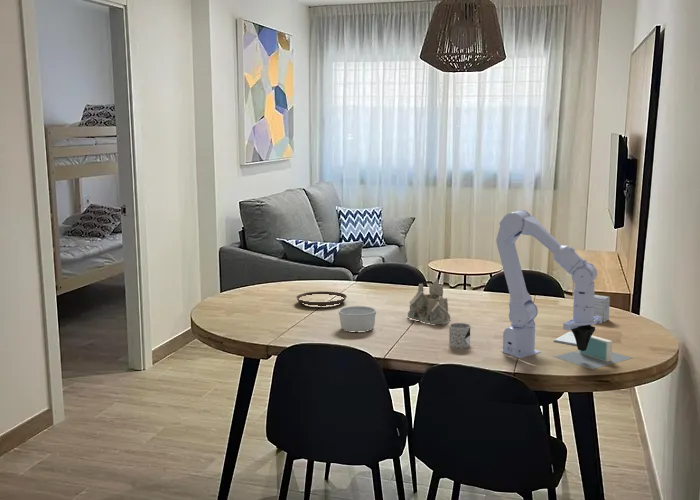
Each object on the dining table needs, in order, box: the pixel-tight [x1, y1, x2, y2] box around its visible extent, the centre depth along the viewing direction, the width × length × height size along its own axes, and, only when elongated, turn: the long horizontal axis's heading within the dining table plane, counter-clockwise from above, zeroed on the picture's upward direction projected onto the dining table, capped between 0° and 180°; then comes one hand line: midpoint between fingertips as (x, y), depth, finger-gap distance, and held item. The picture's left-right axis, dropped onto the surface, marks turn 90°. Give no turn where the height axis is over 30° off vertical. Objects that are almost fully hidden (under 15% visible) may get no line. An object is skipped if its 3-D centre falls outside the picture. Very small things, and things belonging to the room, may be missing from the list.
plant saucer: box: [296, 290, 347, 306], centre depth 280 cm, size 21×21×3 cm
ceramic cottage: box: [407, 278, 451, 325], centre depth 251 cm, size 16×16×15 cm
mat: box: [553, 349, 633, 371], centre depth 205 cm, size 18×14×1 cm
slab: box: [580, 334, 613, 362], centre depth 205 cm, size 2×10×6 cm, turn 31°
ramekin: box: [338, 305, 377, 332], centre depth 241 cm, size 13×13×7 cm
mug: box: [448, 322, 471, 349], centre depth 222 cm, size 10×7×7 cm
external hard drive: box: [553, 331, 577, 347], centre depth 224 cm, size 2×8×12 cm
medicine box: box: [594, 294, 611, 323], centre depth 248 cm, size 8×4×9 cm, turn 47°
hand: (581, 349), depth 202 cm, fingers closed
